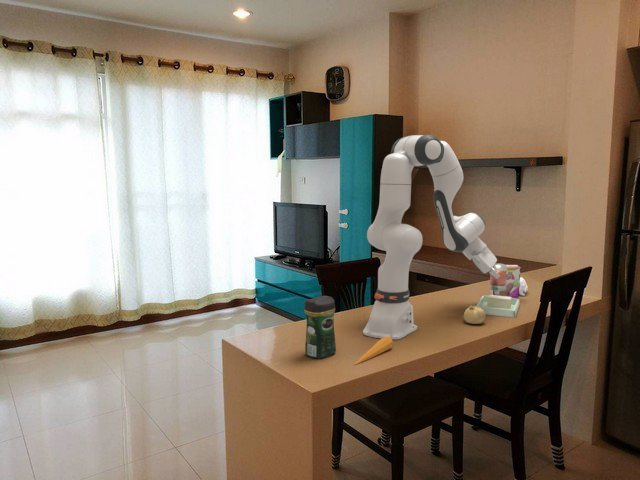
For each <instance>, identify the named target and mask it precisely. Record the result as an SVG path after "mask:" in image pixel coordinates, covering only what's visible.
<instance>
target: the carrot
mask: <svg viewBox="0 0 640 480" xmlns="http://www.w3.org/2000/svg"><path fill="white" fill-rule="evenodd" d="M393 345H394V341H393V339H391V338H390V337H387V336H385V337H383V338H382V339H381V338H379V340H378V341H377V342H376V343H375V344H374V345H373V346H371V348H369V349H368V350H367V351H366V352H365V353H364V354H363V355H362V356H361V357H360V358H359V359H358V360H357V361H356V363H354V366H355V365H359V364H360V363H364V362H366V361H368V360H370V359H372V358H374V357H376V356H379V355H380V354H382V353H385V352H386V351H387V352H388V350H390V349H392V347H393Z"/></svg>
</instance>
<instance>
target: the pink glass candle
mask: <svg viewBox="0 0 640 480" xmlns="http://www.w3.org/2000/svg"><path fill="white" fill-rule="evenodd" d="M507 265H508V264H506V263H499V262H498V263H497V262H496V263H495V264H494V266H493V267H492V268H493V269H494V270H495V271H496V272H497V273H498V274H499V275H500V277H499V278H498V279H496V278H495V277H494V276H493V275H491V274H490V273H489V275H490V277H489V290H490V291H491V290H494V291H505V290H506V274H507Z"/></svg>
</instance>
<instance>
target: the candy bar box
mask: <svg viewBox="0 0 640 480" xmlns="http://www.w3.org/2000/svg"><path fill="white" fill-rule="evenodd" d="M506 265H507V274H506V290H505V291H494V290H491V289H490V295H498V296H508V297H511V298H515V299H520V294H519V286H520V277H521V271H522V270H521V268H522V267H521V266H519V265H518V264H506Z"/></svg>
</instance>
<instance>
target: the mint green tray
mask: <svg viewBox="0 0 640 480" xmlns="http://www.w3.org/2000/svg"><path fill="white" fill-rule="evenodd" d="M488 296H489V295H482V296H481V297H480V299H479V300H478V302H477V303H476V305H474V306H475V307H479V308H481V309H482V310H484V312H485V314H486V315H489V316H497V317H506V318H514V319H515V318H516V316H517V313H518V310H519V308H520V298H519V299H515V298H511V308H510V309H505V308H495V307H487V297H488Z"/></svg>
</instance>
